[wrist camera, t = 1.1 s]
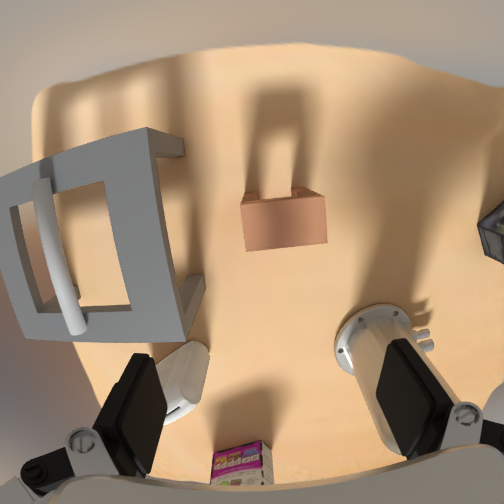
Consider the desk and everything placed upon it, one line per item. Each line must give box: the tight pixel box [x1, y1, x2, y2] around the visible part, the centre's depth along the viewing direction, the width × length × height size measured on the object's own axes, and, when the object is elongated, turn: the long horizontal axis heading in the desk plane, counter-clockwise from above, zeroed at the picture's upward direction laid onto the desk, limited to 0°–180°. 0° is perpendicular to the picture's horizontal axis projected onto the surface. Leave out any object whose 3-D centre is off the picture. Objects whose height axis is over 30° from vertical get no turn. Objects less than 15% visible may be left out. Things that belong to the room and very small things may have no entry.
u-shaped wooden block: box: [240, 187, 328, 252], centre depth 30 cm, size 7×4×11 cm, turn 97°
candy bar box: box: [210, 440, 274, 486], centre depth 40 cm, size 11×5×16 cm, turn 119°
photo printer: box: [156, 340, 210, 426], centre depth 36 cm, size 10×4×12 cm, turn 130°
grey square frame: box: [0, 127, 206, 343], centre depth 29 cm, size 22×19×14 cm
